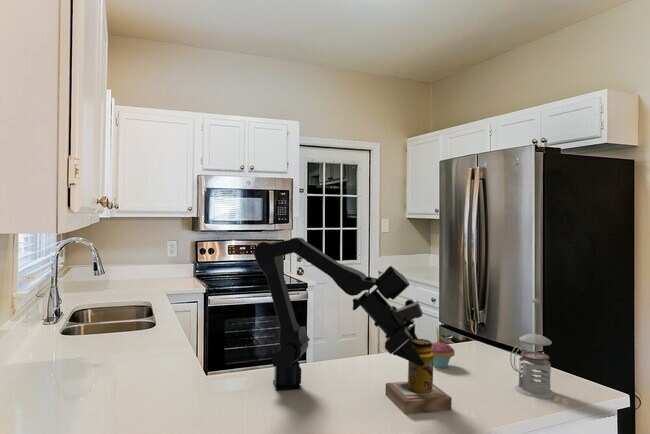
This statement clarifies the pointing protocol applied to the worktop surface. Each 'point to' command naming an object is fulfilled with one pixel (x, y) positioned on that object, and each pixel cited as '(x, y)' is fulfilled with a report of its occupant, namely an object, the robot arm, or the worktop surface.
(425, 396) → the walnut base
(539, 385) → the french press
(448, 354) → the cupcake
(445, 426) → the worktop surface
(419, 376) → the condiment
